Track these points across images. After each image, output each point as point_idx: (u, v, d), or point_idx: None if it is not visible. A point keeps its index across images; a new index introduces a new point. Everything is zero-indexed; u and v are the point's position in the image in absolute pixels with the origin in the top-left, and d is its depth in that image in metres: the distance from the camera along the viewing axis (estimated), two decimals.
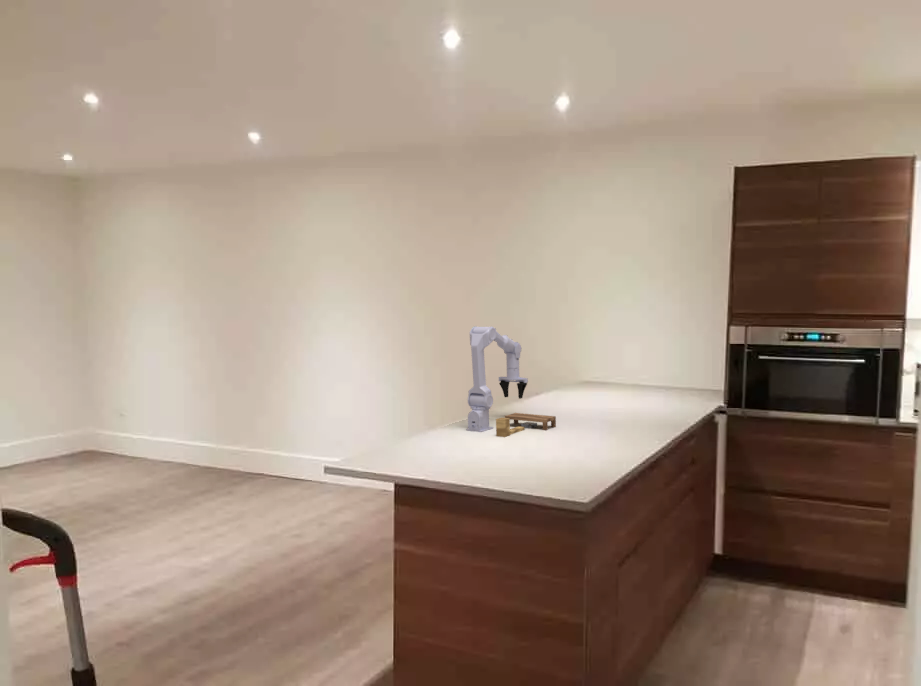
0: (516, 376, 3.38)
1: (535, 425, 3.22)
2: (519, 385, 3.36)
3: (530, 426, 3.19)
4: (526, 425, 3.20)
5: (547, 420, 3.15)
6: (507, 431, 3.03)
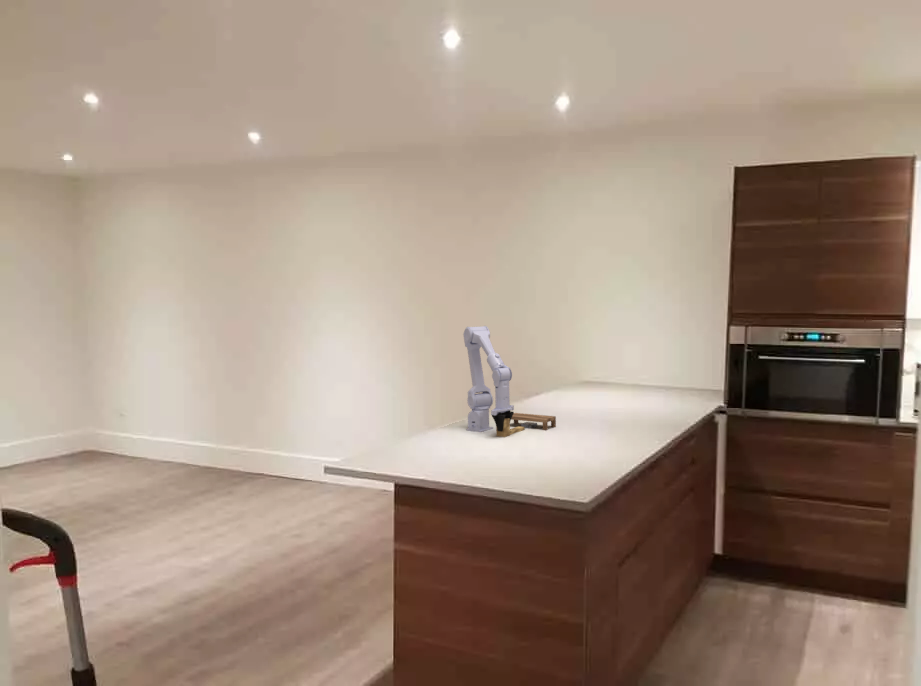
0: (496, 406, 3.02)
1: (535, 425, 3.22)
2: None
3: (530, 426, 3.19)
4: (526, 425, 3.20)
5: (547, 420, 3.15)
6: (507, 431, 3.03)
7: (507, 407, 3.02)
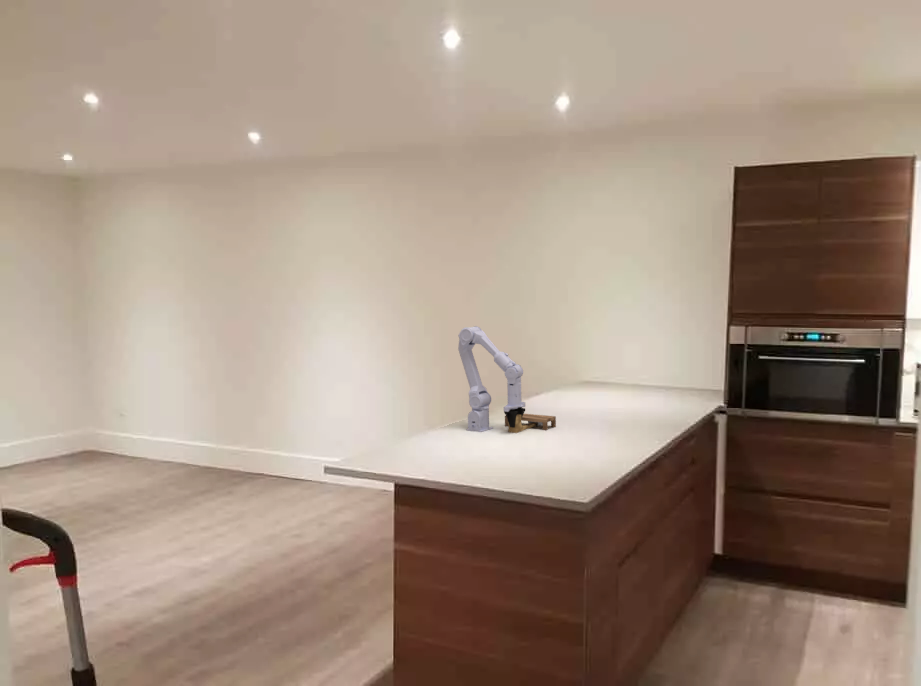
0: (509, 403, 3.10)
1: (542, 423, 3.26)
2: None
3: (537, 424, 3.23)
4: None
5: (547, 420, 3.15)
6: (519, 427, 3.11)
7: (519, 404, 3.09)
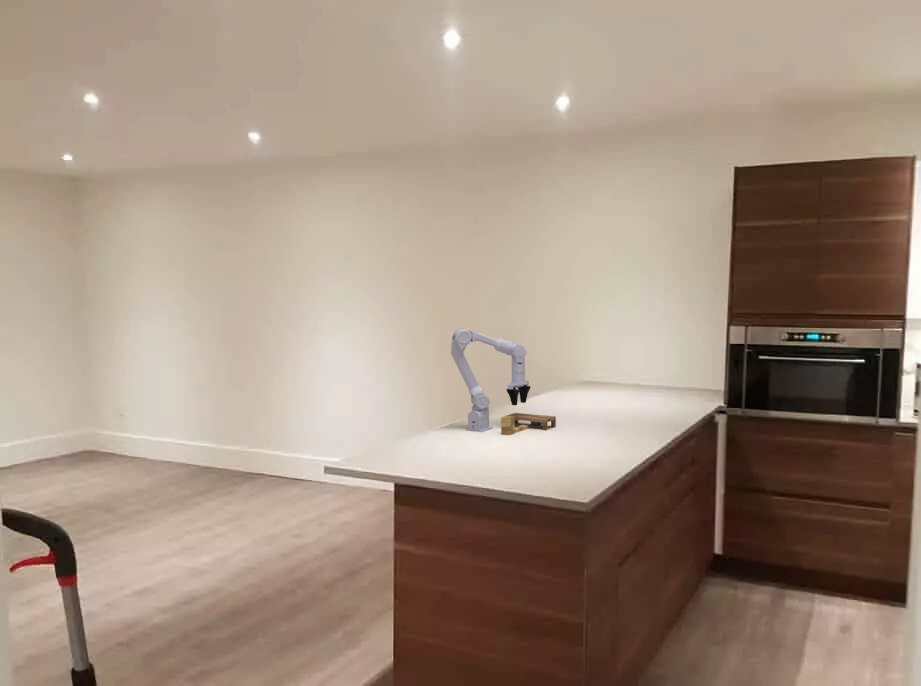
0: (513, 381, 3.20)
1: None
2: None
3: (539, 423, 3.25)
4: (535, 422, 3.26)
5: (547, 420, 3.15)
6: (512, 429, 3.07)
7: (523, 382, 3.20)
